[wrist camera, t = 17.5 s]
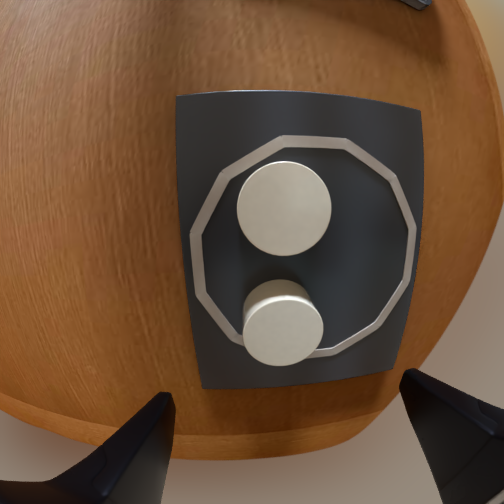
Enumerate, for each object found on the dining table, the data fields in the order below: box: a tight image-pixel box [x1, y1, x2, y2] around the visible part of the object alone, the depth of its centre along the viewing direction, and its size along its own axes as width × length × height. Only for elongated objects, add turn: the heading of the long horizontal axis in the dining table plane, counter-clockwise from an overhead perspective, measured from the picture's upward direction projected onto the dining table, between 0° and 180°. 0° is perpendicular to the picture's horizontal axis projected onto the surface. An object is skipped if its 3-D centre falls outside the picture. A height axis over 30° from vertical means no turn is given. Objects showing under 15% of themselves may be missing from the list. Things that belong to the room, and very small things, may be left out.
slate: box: [176, 90, 424, 389], centre depth 15 cm, size 14×18×1 cm
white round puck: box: [237, 161, 331, 256], centre depth 12 cm, size 4×4×2 cm
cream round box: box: [242, 280, 323, 366], centre depth 14 cm, size 4×4×2 cm
